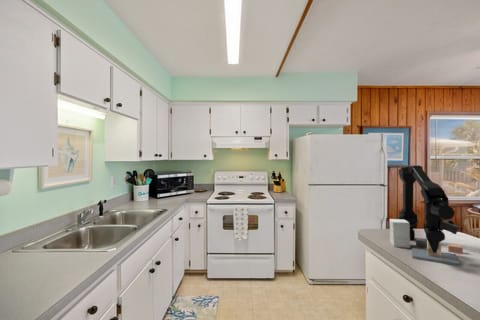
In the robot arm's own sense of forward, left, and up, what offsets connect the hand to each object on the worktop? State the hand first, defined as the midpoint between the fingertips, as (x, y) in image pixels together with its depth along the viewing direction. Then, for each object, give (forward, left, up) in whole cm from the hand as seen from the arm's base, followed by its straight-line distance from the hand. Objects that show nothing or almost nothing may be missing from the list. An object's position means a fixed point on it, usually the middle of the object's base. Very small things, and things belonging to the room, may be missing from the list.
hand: (433, 249), depth 111 cm
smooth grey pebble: (-3, +15, -4) cm, 16 cm away
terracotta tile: (+9, +13, -4) cm, 16 cm away
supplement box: (-13, +11, -4) cm, 17 cm away
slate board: (0, 0, -4) cm, 4 cm away
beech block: (0, 0, -2) cm, 3 cm away
